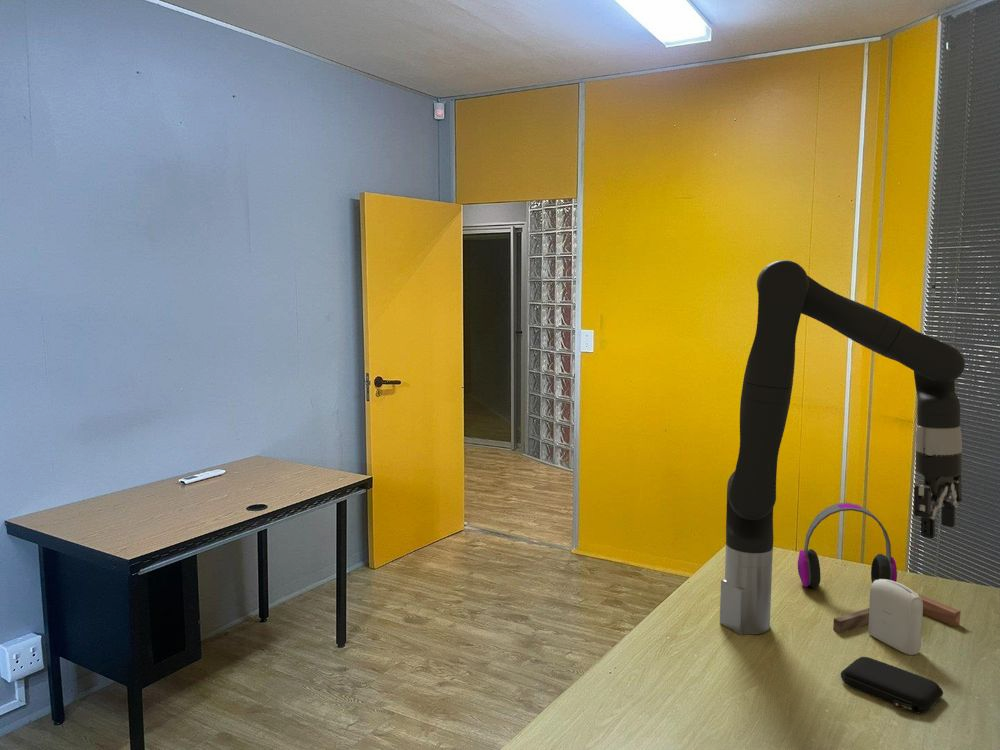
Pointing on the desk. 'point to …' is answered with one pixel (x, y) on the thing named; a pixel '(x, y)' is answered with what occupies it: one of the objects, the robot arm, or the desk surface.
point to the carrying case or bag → (892, 684)
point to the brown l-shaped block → (929, 609)
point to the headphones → (810, 563)
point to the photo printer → (896, 616)
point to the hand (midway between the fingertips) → (938, 531)
